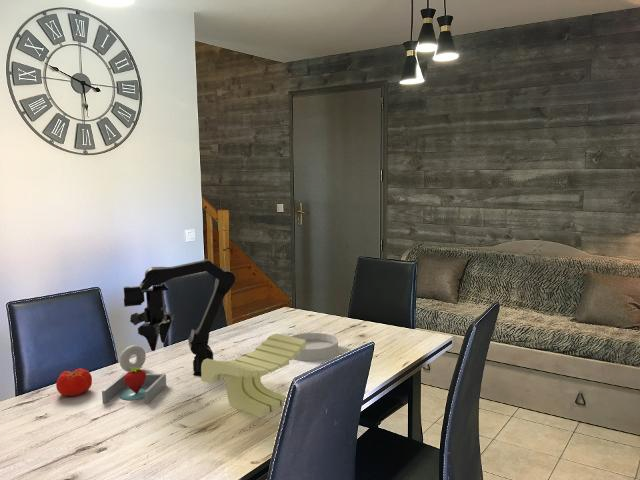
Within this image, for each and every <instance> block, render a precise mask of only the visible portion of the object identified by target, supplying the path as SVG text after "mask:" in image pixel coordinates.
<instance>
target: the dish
mask: <svg viewBox="0 0 640 480" xmlns="http://www.w3.org/2000/svg"><path fill="white" fill-rule="evenodd" d="M289 336H290V335H289ZM290 337H295V338H299V339H304V340H306V348H305V349H303V350H301V349H300V354H298V355H295V359H293V360H295V361H299V362H320V361H326V360H330V359H333V358H334V357H335V356H338V354H339V350H340V349H339V340H338V337H336V336H335V335H331V334H327V333H321V332H306V333H298V334H295V335H294V334H293V335H291V336H290Z"/></svg>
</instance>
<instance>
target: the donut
mask: <svg viewBox="0 0 640 480" xmlns="http://www.w3.org/2000/svg"><path fill="white" fill-rule="evenodd" d="M133 355H135V356H136V358H135V360H134V361H133V362H131V361H130V358H131V357H132V356H133ZM146 356H147V354H146V351H145V349H144V348H143V347H142V346H140V345H137V344H131V345H130V346H126V348H124V349H123V350H122V352H121V353H120V355H119V365H120V367H121V369H122V370H123V371H125V372H127V371H129V370H132V369H131V368H139V367H142V368H143V365H144V364H145V363H146V359H147V358H146ZM134 364H135V365H136V366H137V367H136V366H135V365H134ZM129 372H130V371H129Z"/></svg>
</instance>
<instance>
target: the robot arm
mask: <svg viewBox="0 0 640 480" xmlns="http://www.w3.org/2000/svg"><path fill="white" fill-rule="evenodd" d="M203 272H206V273H208V274H209V275H211V276H213V277H214V278H215V281H214V287H213V292H212V294H211V296H210V299H209V302H208V304H207V307H206V309H205V310H204V311H205V312H204V314H203V316H202V319H201V321H200V324H199V326H198V327H197V328H196V330H195V329H193V328H192V329H191V332H190V335H189V337H188V338H187V340H188V346H189V350H190V352H191V353H192V354H193V355H195V356H193V360H192V367H193V368H192V371H193V373H192V374H193V376H202V374H201V365H202V362H203V361H204V360H205V359H207V358H208V359H211V360H214V352H213V350H212V348H211V346H210V345H208V344H209V340H210V339H209V338H210V332H211V330H212V327H213V324H214V322H215V321H216V318H217V315H218V313H219V311H220V309H221V305H222V303H223V300H224V298H225V297H226V295H227V294H228V292H230V291H231V289H232V287H233V286H234V283H235V282H236V276H235V274H234V273H233V272H232V271H231V270H229V269H227V268H221V267H219V266H218V265H217V264H215V263H214V262H212V261H210V260H209V259H206V258H205V259H204V258H203V259H202V260H199V261H193V262H188V263H183V264H180V265H179V264H178V265H174V266H151V267H148V268H147V269H146V271H144V278H143V279H142V281H141V282H140V283H139V285H136V286H135V285H134V286H124V287H123V305H124V307H125V308H127V307H128V308H129V307H137V306H142V304H143V303H145V301H146V307H145V308H144V309H143V311H140V312H135V313H131V314H130V317H129V318H130V319H129V322H130V323H132V324H133V326H137V325H138V324H140V323H142V324H141V325H139V327H138V328H137V334H138V335H140V336H141V337H144V338H145V339H146V341H147V343H148V345H149V348H150V351H151V352H155V351H156V349H157V345H158V341H159V337H160V341H161V343H162V344H163V343H165V342H166V340H167V337H168V334H169V332H170V329H171V327H172V324H173V322H174V320H175V314H174V313H172V312H171V311H170V312H165V309H166V308H167V304H165V299H164V291H169V286H167V285H166V284H165V283H166V282H168V281H170V280H174V279H175V278H180V277H184V276H185V277H186V276H190V275H195V274H199V273H203ZM145 297H146V300H145ZM143 322H144V323H143Z"/></svg>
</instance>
